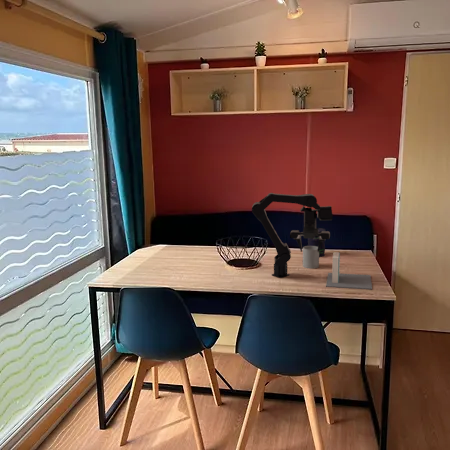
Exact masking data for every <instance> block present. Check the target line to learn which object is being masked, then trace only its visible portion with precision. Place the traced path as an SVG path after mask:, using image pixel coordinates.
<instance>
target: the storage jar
mask: <svg viewBox="0 0 450 450" xmlns="http://www.w3.org/2000/svg"><path fill="white" fill-rule="evenodd" d="M317 228H318V233H321V232H322V231H326V229H325V228H321V227H317ZM319 238H320V237H314V238H313V239H310V238H307V243H308V244H307V246H316V247H318V244H319ZM325 242H326V240H325V241H323V242H322V244H321V246H320V249H319V258H323V257H325V255H326V254H325V251H326V246H325Z"/></svg>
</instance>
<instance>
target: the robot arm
mask: <svg viewBox="0 0 450 450" xmlns="http://www.w3.org/2000/svg"><path fill="white" fill-rule="evenodd" d="M273 202H274V203H285V204H296V205H300V206H302V207H301V208H300V210H299V211H300V212H302V213H303V229H302V231H301V232H300V229H299V230H298V229H297V230H296V229H292V230H291V231H290V233H289V238H290V239H293V240H294V241H296V242H297V245H298V247H299V250H300V252H301V253H303V246H302V243H303V242H302V237H303V239H306V240H308V238H310V239H313V238H314V237H320V238H319V244H318V252H319V249H320V246H321V244H322V242H323V241H325V242H326V240H329V239H330V237H331V232H330V231H328V230H327V231H326V230H325V231H322V232H321V233H318V228H319V227H317V219H319V221H332V220H333V216H334V215H333V209H332V208H333V207H332V205H325V206H320V204H319V203H318V199H317V198H316V196H315V195H314V194H312V193H304V194H286V193H285V194H283V193H273V192H270V193H268V194H267V195H266V196H264V197H263V198H261V199H260V200H259V201H255V202H254V203H252V206H251V212H252V214H253V215H254V217H255V218H256V219H257V220H258V221H259V222H260V223H261V224H262V227H263V228H264V230H265V232H266V233H267V235H268V236H269V238H270V240H271V242H272V244H273V246H274V247H275V251H276V255H275V256H274V259H273V260H274V263H273V273H271V276H273V277H277V278H280V279H282V278H286V277H289V276H290V274H289V273H288V262H289V261H290V260H291V257H292V256H291V253H292V251H291V248H289V246H288V244H287V242H285V243H284V242H282V240H281V239H280V237H279V235H278V233H277V231H276V230H275V228H274V226H273V224H272V223H271V221H270V219H269V218H268V216H267V212H266V209H267V208H268V207H269V206H270V205H271V204H272V203H273ZM312 208H313V209H312Z"/></svg>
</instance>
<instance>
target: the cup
mask: <svg viewBox="0 0 450 450" xmlns="http://www.w3.org/2000/svg"><path fill="white" fill-rule="evenodd" d="M302 267H303V268H305V269H310V270H311V269H317V268H318V269H319V267H320V257H319V252H318V247H316V246H308V245H305V246H302Z"/></svg>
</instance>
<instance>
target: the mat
mask: <svg viewBox="0 0 450 450" xmlns="http://www.w3.org/2000/svg"><path fill="white" fill-rule="evenodd" d="M371 277H372V275H371V274H356V273H340V272H339V283H332V272H328V273H327V277H326V282H325V283H326V284H325V287H326V288H338V289H340V288H341V289H356V290H369V291H370V290H373V285H372V278H371Z"/></svg>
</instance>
